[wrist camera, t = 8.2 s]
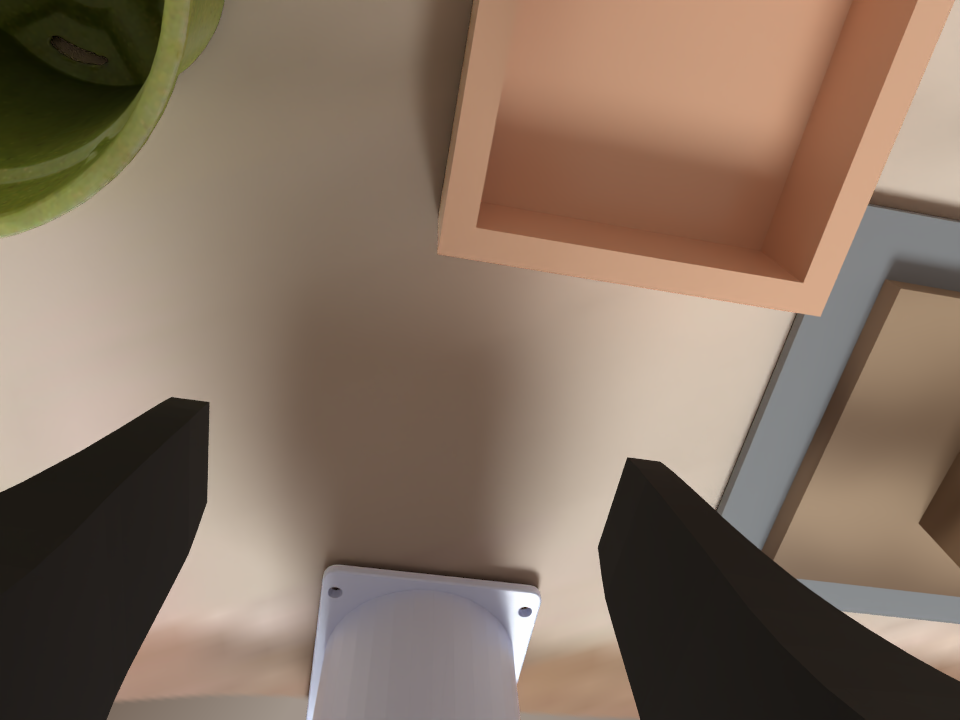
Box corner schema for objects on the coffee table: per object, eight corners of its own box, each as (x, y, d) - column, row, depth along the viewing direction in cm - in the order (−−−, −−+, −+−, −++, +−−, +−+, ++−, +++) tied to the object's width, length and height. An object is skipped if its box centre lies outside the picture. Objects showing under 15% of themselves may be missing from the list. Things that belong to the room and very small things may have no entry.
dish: (765, 271, 22) (820, 316, 18) (437, 216, 20) (437, 254, 17) (911, -116, 17) (1015, -143, 14) (507, -216, 16) (524, -271, 13)
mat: (1035, 625, 29) (1042, 632, 29) (685, 586, 27) (688, 594, 27) (1280, 280, 23) (1293, 284, 22) (843, 198, 21) (851, 202, 20)
